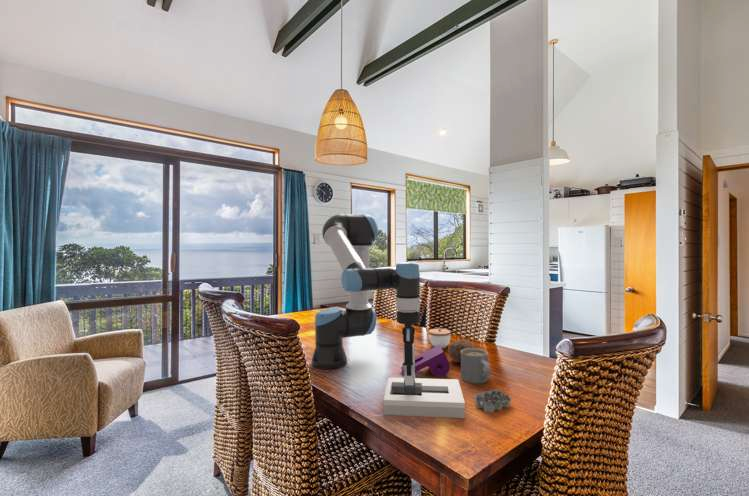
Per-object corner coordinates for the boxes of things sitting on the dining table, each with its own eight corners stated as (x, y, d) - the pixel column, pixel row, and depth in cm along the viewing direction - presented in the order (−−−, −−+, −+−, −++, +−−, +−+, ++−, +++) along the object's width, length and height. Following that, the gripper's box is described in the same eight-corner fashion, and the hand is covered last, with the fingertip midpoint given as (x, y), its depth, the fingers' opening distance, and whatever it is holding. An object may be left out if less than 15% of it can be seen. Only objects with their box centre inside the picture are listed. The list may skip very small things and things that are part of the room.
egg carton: (488, 415, 107) (487, 401, 107) (471, 405, 113) (471, 392, 113) (514, 407, 111) (514, 394, 111) (496, 398, 118) (496, 386, 118)
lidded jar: (426, 344, 181) (426, 325, 181) (447, 343, 182) (446, 324, 182) (432, 350, 170) (432, 331, 170) (454, 349, 172) (453, 330, 171)
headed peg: (396, 405, 112) (395, 348, 112) (398, 395, 120) (397, 341, 120) (422, 406, 111) (421, 349, 111) (422, 395, 119) (421, 342, 119)
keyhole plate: (383, 414, 107) (383, 399, 107) (388, 390, 125) (388, 377, 125) (465, 418, 104) (464, 402, 104) (458, 392, 122) (458, 379, 122)
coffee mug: (456, 374, 139) (456, 349, 139) (480, 372, 141) (480, 347, 141) (471, 388, 126) (471, 360, 126) (497, 385, 127) (497, 357, 127)
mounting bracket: (412, 392, 137) (453, 371, 138) (402, 373, 137) (443, 351, 137) (409, 382, 147) (447, 362, 147) (399, 364, 146) (438, 344, 147)
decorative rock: (468, 369, 145) (467, 344, 145) (443, 363, 152) (442, 340, 151) (480, 360, 155) (479, 337, 155) (456, 355, 162) (455, 333, 162)
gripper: (419, 315, 106) (421, 393, 106) (419, 305, 123) (421, 373, 123) (394, 315, 107) (396, 392, 107) (398, 305, 124) (399, 372, 124)
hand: (409, 382), depth 115 cm, fingers closed on headed peg, 3 cm apart
